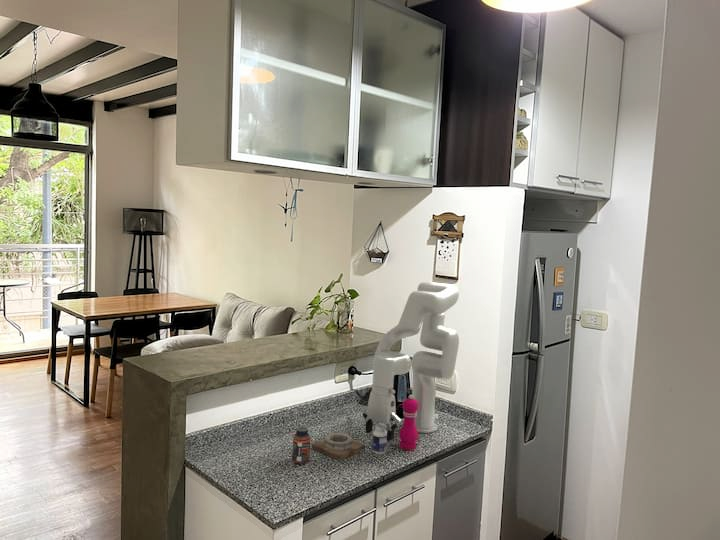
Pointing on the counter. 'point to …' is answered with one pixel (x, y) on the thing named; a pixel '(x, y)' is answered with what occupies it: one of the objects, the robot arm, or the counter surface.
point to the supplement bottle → (301, 446)
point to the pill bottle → (379, 439)
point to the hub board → (338, 452)
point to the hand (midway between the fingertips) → (379, 436)
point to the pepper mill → (409, 424)
